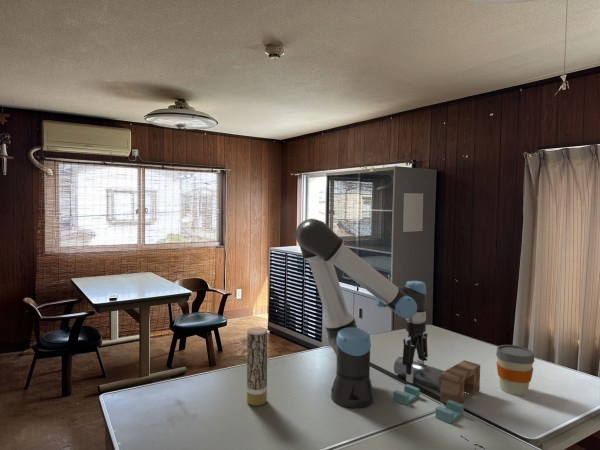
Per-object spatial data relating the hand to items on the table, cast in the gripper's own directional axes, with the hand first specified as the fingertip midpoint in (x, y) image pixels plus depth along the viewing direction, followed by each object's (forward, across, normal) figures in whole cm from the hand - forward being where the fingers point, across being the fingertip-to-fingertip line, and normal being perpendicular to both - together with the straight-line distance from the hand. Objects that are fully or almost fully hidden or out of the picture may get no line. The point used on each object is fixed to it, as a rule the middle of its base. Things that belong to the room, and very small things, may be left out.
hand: (415, 379), depth 159 cm
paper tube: (0, -58, +26) cm, 63 cm away
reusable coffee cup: (+1, +20, -29) cm, 35 cm away
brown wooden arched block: (+1, 0, -18) cm, 18 cm away
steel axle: (0, 0, -4) cm, 4 cm away
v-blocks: (0, -16, -14) cm, 22 cm away
